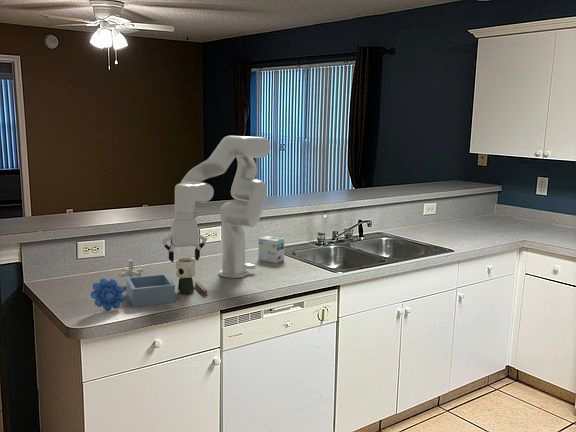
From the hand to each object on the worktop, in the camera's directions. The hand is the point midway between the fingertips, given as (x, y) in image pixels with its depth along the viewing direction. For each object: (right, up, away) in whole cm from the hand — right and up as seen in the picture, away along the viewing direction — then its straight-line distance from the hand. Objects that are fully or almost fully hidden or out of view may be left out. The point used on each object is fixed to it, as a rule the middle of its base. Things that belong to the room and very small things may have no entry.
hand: (184, 260), depth 220 cm
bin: (-12, -14, -4) cm, 19 cm away
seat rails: (0, -13, +3) cm, 13 cm away
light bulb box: (+32, -4, +52) cm, 61 cm away
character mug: (0, -13, +3) cm, 13 cm away
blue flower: (-23, -17, -19) cm, 34 cm away
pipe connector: (-23, -11, +11) cm, 28 cm away
